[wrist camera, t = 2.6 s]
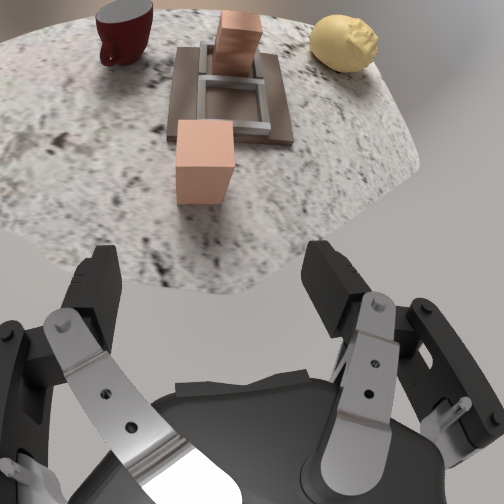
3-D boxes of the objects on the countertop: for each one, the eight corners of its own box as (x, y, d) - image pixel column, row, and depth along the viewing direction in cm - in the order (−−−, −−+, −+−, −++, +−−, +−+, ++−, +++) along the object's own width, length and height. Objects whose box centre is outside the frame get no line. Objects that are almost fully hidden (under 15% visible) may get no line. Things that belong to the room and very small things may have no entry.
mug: (139, 85, 33) (135, 32, 24) (89, 85, 31) (76, 36, 22) (159, 44, 35) (160, -4, 26) (114, 43, 34) (109, -2, 24)
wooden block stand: (166, 141, 32) (165, 84, 23) (177, 52, 36) (181, 2, 26) (290, 146, 36) (323, 98, 26) (275, 60, 39) (295, 15, 30)
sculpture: (350, 91, 42) (382, 52, 32) (293, 54, 41) (315, 10, 31) (366, 67, 45) (393, 33, 35) (317, 35, 44) (338, -2, 34)
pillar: (177, 204, 31) (175, 166, 23) (177, 165, 32) (178, 119, 24) (221, 204, 32) (234, 167, 24) (219, 165, 33) (232, 121, 25)
